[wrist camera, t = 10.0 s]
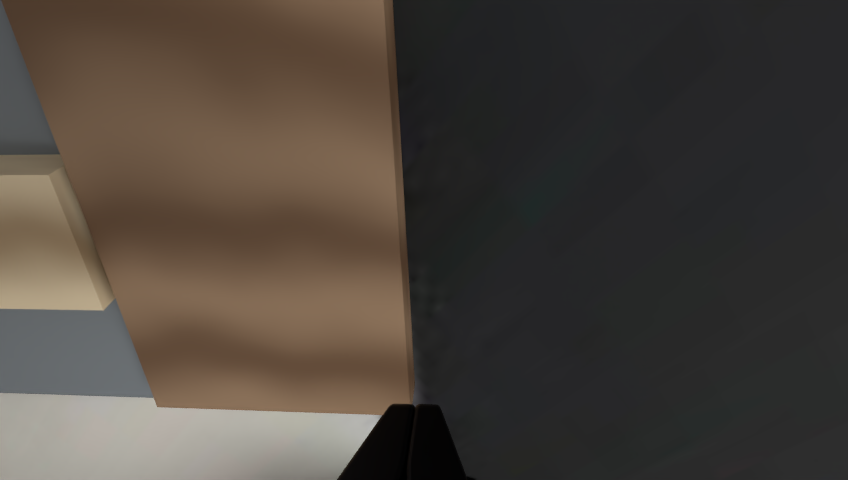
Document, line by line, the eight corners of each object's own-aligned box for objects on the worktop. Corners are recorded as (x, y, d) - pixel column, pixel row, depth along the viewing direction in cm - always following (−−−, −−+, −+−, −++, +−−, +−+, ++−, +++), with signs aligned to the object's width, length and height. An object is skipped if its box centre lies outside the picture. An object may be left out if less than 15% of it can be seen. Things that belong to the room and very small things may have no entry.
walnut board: (414, 383, 27) (410, 415, 25) (177, 376, 28) (157, 407, 26) (391, -28, 18) (382, -22, 16) (40, -17, 19) (-3, -10, 17)
